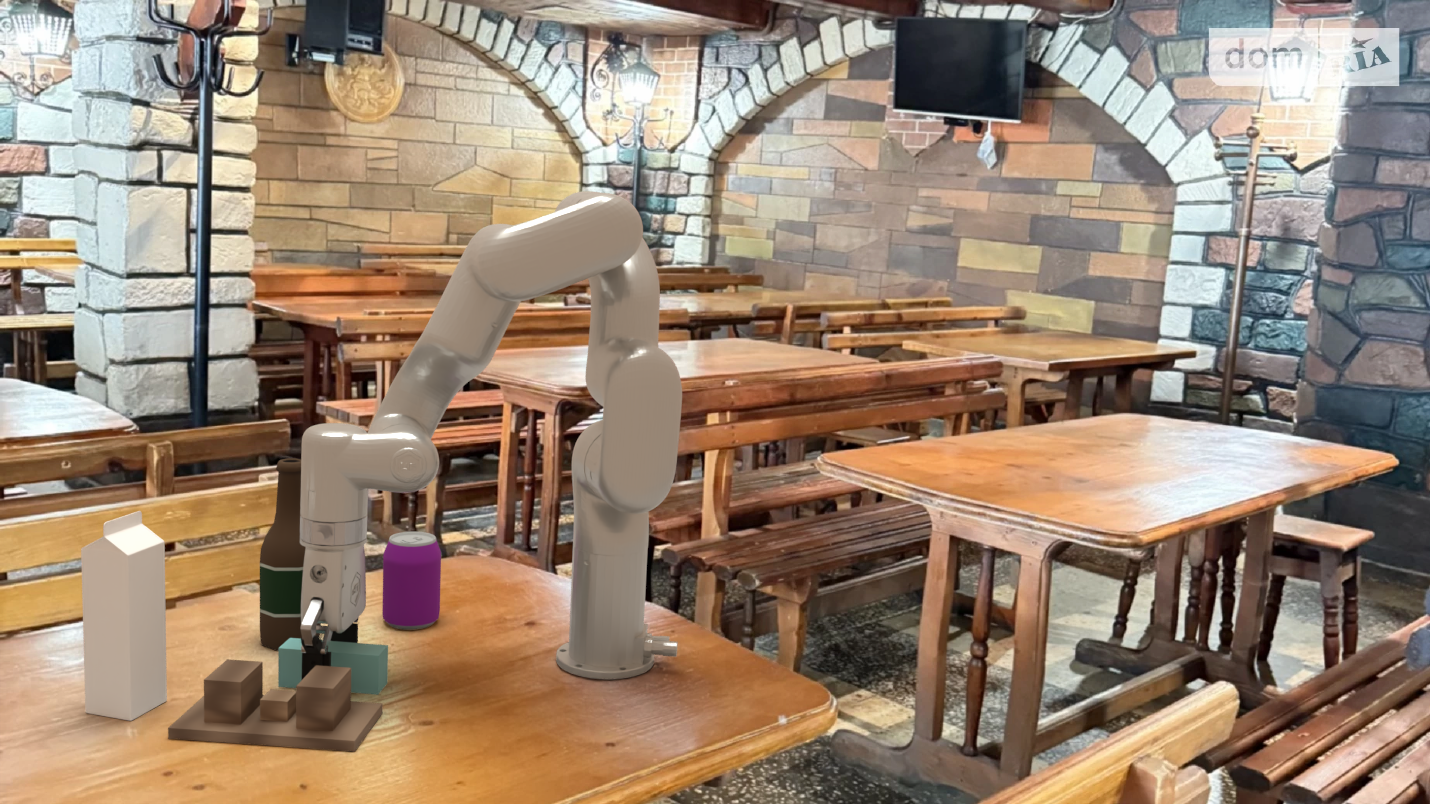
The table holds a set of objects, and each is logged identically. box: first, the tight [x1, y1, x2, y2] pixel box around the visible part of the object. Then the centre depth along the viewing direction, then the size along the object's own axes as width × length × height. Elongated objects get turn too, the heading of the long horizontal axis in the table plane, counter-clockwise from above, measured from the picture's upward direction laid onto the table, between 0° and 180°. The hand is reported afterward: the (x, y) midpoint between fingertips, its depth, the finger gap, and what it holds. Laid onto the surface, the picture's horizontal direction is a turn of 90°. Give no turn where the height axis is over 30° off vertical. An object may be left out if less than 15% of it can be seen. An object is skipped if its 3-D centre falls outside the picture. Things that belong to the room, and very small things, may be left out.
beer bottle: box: [259, 457, 322, 651], centre depth 161 cm, size 8×8×24 cm
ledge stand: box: [167, 659, 384, 753], centre depth 138 cm, size 20×10×6 cm, turn 88°
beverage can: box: [381, 531, 442, 631], centre depth 172 cm, size 8×8×12 cm
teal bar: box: [277, 638, 389, 695], centre depth 150 cm, size 12×4×5 cm, turn 87°
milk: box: [80, 510, 168, 722], centre depth 139 cm, size 6×6×22 cm
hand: (330, 668), depth 149 cm, fingers open, 9 cm apart
